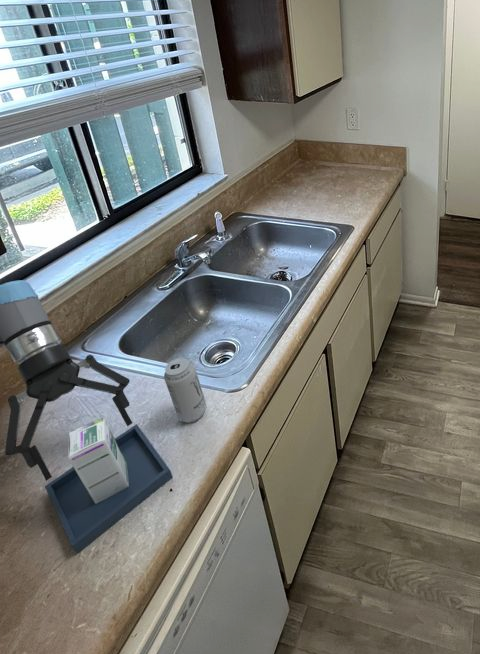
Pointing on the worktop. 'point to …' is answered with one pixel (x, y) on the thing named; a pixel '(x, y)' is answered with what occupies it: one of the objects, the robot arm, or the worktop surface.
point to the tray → (94, 519)
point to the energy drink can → (185, 389)
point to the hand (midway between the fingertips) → (92, 450)
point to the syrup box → (98, 460)
